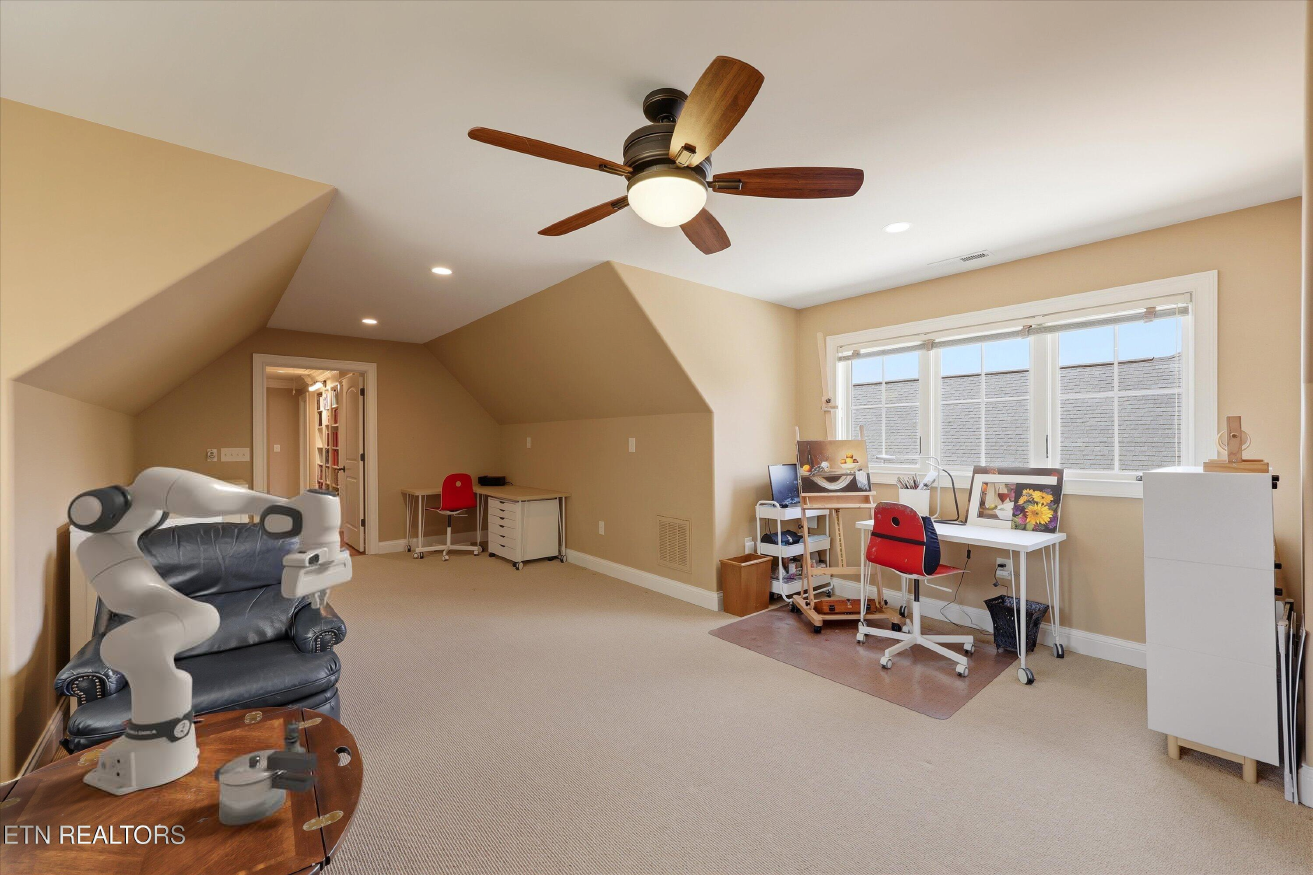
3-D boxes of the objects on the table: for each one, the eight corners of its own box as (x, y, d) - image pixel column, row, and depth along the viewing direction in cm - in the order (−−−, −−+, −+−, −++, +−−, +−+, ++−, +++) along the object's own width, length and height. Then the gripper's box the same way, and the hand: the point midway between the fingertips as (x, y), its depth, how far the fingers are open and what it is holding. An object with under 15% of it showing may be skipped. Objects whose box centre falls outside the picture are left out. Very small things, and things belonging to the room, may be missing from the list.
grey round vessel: (291, 775, 138) (293, 725, 138) (271, 772, 139) (272, 723, 139) (311, 762, 143) (312, 714, 144) (291, 759, 145) (292, 712, 145)
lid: (203, 783, 120) (204, 765, 120) (251, 752, 133) (251, 735, 133) (291, 791, 118) (292, 772, 118) (332, 758, 130) (332, 742, 130)
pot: (193, 819, 121) (194, 781, 121) (242, 786, 133) (243, 751, 133) (286, 833, 117) (287, 794, 118) (329, 797, 129) (330, 762, 129)
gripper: (338, 545, 156) (337, 595, 156) (276, 559, 136) (275, 617, 136) (359, 546, 155) (357, 597, 155) (300, 561, 135) (298, 619, 134)
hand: (318, 606), depth 145 cm, fingers closed
